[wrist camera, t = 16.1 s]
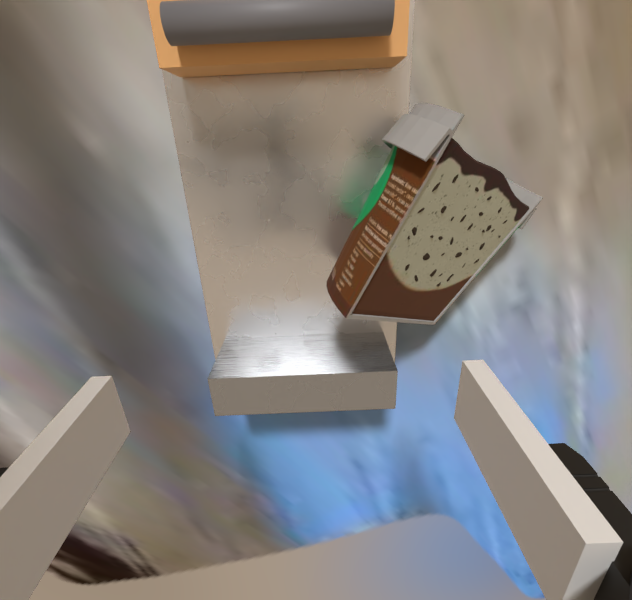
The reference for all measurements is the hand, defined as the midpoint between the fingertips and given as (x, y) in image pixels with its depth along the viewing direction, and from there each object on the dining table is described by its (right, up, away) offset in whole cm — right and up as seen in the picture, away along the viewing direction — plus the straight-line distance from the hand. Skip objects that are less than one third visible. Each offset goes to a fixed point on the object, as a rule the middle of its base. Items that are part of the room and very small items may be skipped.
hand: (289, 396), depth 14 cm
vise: (0, +11, +10) cm, 15 cm away
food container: (+4, +4, +10) cm, 11 cm away
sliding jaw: (-1, +19, +5) cm, 20 cm away
